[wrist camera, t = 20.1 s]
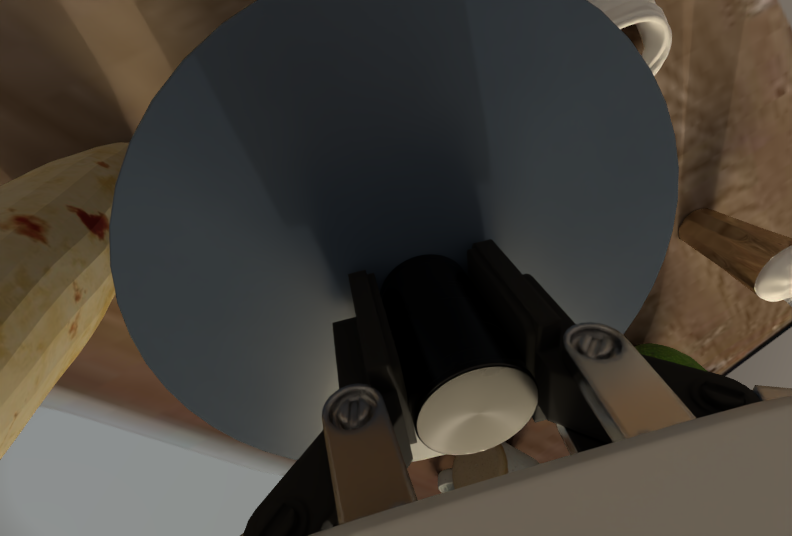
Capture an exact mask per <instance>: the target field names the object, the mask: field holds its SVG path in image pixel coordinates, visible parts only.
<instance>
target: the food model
mask: <svg viewBox="0 0 792 536" xmlns="http://www.w3.org/2000/svg"><path fill="white" fill-rule="evenodd" d="M128 145H129V143H123V142H118V143H113V144H108V145H104V146H99V147H95V148H92V149H89V150H86V151H83V152H80V153H77V154H74V155H71V156H68V157H64V158H61V159H58V160H55V161H52V162H49V163H47V164H45V165H43V166H41V167H38V168H36V169H34V170H32V171H30V172H28V173H26V174H24V175H22V176H20V177H18V178H16V179H14V180H12V181H10V182H8V183H6V184H4V185H2V186H0V460H1V458H2V457H3V455H4V454H5V453H6V451H7V450H8V449H9V447H10V446H11V445H12V443H13V442H14V441H15V439H16V438H17V437H18V435H19V434H20V432H21V431H22V430H23V428H24V427H25V425H26V424H27V423H28V421H29V420H30V418H31V417H32V415H33V414H34V413H35V411H36V409H37V408H38V407H39V406H40V404H41V403H42V402H43V400H44V399H45V397H46V396H47V395H48V393H49V392H50V391H51V389H52V388H53V386H54V385H55V384H56V382H57V381H58V380H59V378H60V377H61V376H62V375H63V373H64V372H65V371H66V370H67V368H68V367H69V366H70V365H71V363H72V362H73V361H74V360H75V358H76V357H77V356H78V355H79V353H80V352H81V350H82V349H83V348H84V346H85V345H86V343H87V342H88V341H89V339H90V338H91V336H92V334H93V333H94V331H95V330H96V328H97V326H98V325H99V323H100V322H101V320H102V319H103V317H104V315H105V313H106V311H107V309H108V307H109V305H110V303H111V301H112V299H113V298H114V296H115V294H116V293H115V288H114V283H113V278H112V273H111V268H110V244H109V223H110V217H111V210H112V203H113V197H114V190H115V184H116V181H117V178H118V175H119V172H120V169H121V166H122V163H123V160H124V157H125V154H126V151H127V148H128Z"/></svg>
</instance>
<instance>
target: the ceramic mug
mask: <svg viewBox="0 0 792 536" xmlns="http://www.w3.org/2000/svg"><path fill="white" fill-rule="evenodd" d="M535 465H539V463H538V462H537V461H536V460H535V459H534V458H532V457H530V456H528V455H527V454H525V453H523V452H521V451H520V450H518V449H516V448H514V447H512V446H511V445H509V444H507V443H506V442H503V443H501V444H499V445H497V446H495V447H492V448H490V449H487V450H484V451H481V452H477V453H473V454H467V455H456V457H455V459H454V463H453V468H450V469H446V470H443V471H441V472H440V473H439V475H438V489H439V490H440V491H441V492H442V493H445V492H448V491H451V490H455V489H458V488H461V487H465V486H468V485H471V484H475V483H478V482H481V481H485V480H488V479H491V478H495V477H498V476H501V475H505V474H508V473H512V472H515V471H518V470H522V469H525V468H528V467H532V466H535Z"/></svg>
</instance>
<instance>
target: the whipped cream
mask: <svg viewBox="0 0 792 536" xmlns="http://www.w3.org/2000/svg"><path fill="white" fill-rule="evenodd" d="M587 1H589V2H590V3H592V4H593V5H595V6H596V7H598V8H599V9H600V10H602V11H603V13H604V14H605V15H606V16H607V17H608V18H609V19H610V20H611V21H612V22H613V23H614V24H615V25H616V26H617V27H618V28H619V29H622V28H625V27H627V26H629V25H633V24H635V25H636V26H637V28H638V31H639V34H640V36H641V39H642V41H643V45H644V50H643V53H642V58H643V59H644V60H645V62H646V63H647V65H648V66H649V68H650V69H651V71H652V73H653V75H655V74H656V73H657V72H658V71H659V69H660V68H661V66H662V65H663V63H664V61H665V59H666V58H667V56H668V53H669V51H670V47H671V43H672V31H671V28H670V26H669V24H668V21H667V18H666V16H665V15H664V12H663V10H662V9H661V8H660V7H659V6H658V5H656V3H655V0H587Z"/></svg>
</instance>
